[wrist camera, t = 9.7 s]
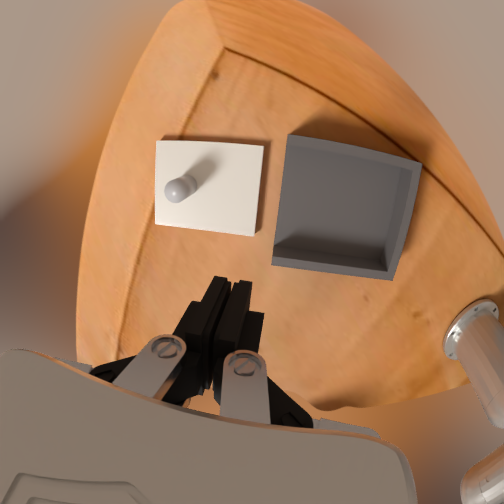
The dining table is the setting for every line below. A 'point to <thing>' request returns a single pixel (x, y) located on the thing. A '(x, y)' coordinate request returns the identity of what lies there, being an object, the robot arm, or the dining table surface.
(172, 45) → the dining table surface
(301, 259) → the dark box
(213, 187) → the cover plate
